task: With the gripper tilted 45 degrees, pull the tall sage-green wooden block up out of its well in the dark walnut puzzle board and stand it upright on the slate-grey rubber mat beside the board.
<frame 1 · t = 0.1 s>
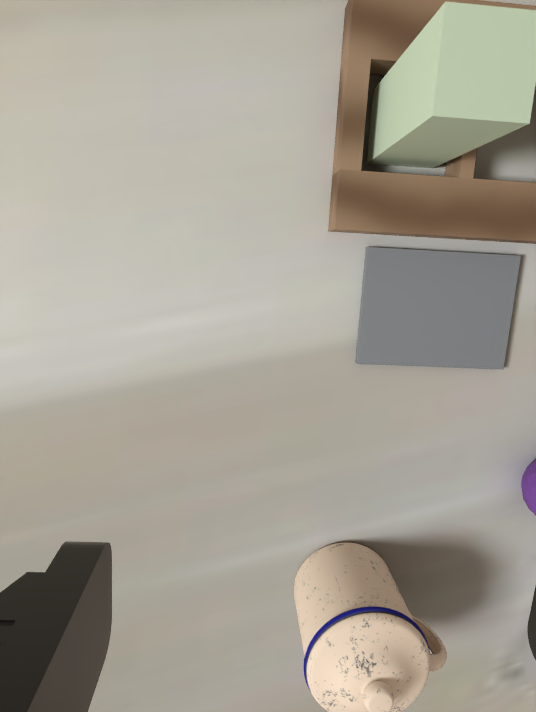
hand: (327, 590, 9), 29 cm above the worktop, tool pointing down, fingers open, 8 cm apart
puzzle board: (456, 133, 35), on the worktop
sage block: (403, 129, 35), resting in puzzle board
lidded ceramic jar: (356, 586, 42), on the worktop
slate mat: (435, 309, 38), on the worktop
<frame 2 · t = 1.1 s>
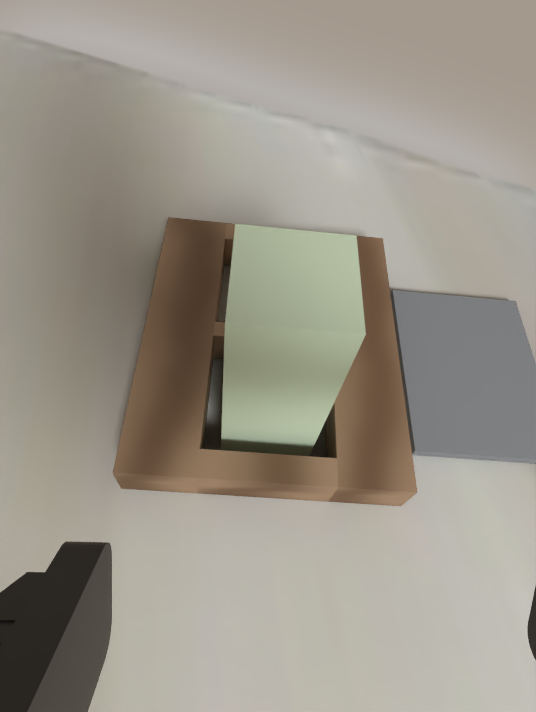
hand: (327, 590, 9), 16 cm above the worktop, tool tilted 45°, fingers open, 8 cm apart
puzzle board: (269, 356, 30), on the worktop
sage block: (266, 413, 28), resting in puzzle board
slate mat: (467, 372, 31), on the worktop
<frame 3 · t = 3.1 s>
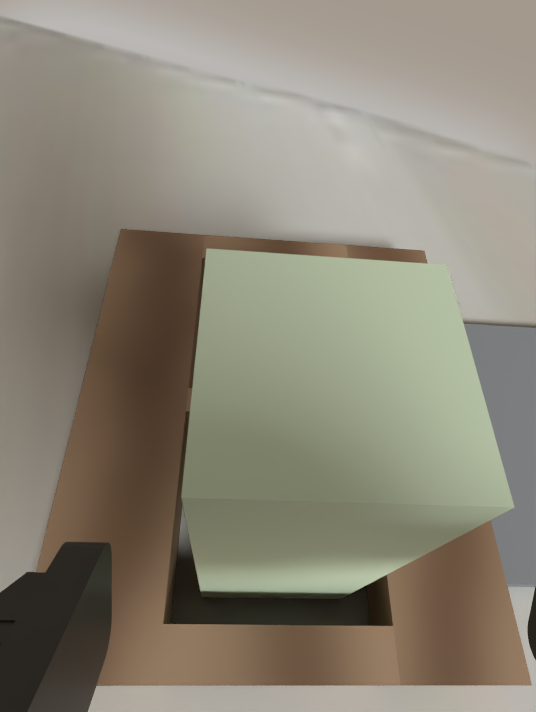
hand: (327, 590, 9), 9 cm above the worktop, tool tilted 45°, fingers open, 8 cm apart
puzzle board: (271, 430, 21), on the worktop
sage block: (271, 525, 18), resting in puzzle board
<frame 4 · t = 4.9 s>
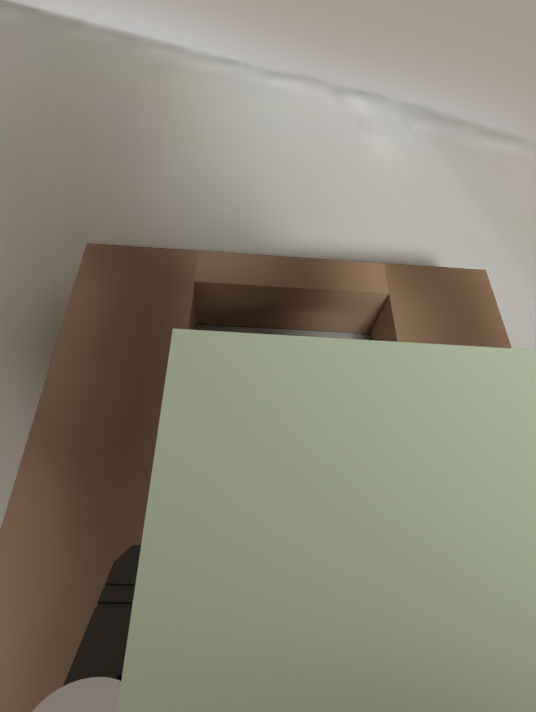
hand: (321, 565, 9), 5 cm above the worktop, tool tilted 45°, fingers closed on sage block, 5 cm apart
puzzle board: (288, 521, 15), on the worktop
sage block: (290, 673, 13), resting in puzzle board, touching gripper
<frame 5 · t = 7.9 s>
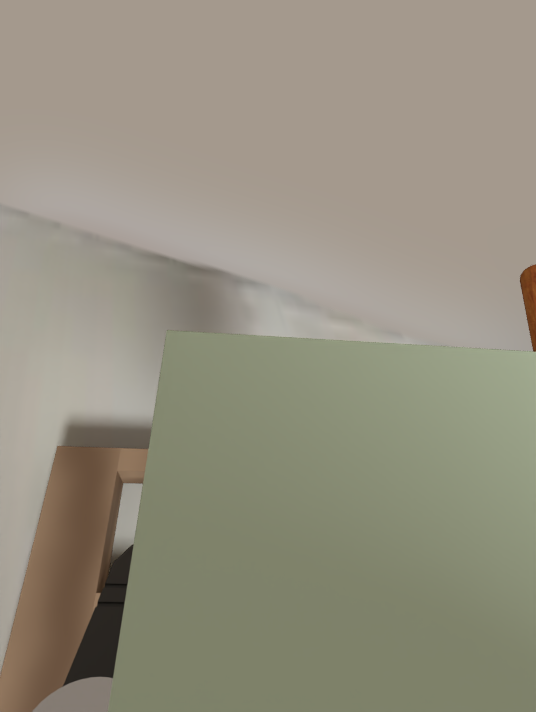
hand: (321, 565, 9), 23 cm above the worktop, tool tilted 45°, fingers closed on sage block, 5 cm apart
puzzle board: (162, 607, 28), on the worktop
sage block: (289, 674, 13), point 17 cm above the worktop, touching gripper
purple maraca: (524, 369, 42), on the worktop
when the fingers open (7 cm above the worktop, at t = 11.0 s): sage block drops 1 cm, resting on slate mat.
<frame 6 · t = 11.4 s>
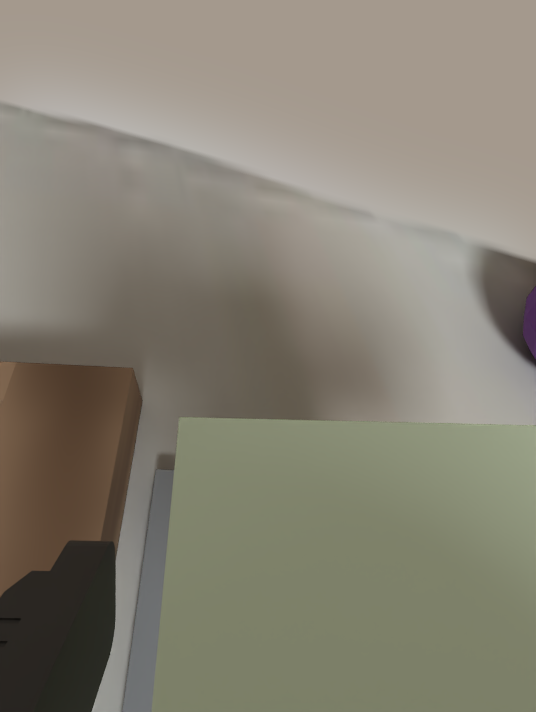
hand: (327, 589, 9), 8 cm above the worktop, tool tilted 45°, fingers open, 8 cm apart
sage block: (286, 676, 14), point 1 cm above the worktop, touching slate mat
slate mat: (282, 673, 14), on the worktop
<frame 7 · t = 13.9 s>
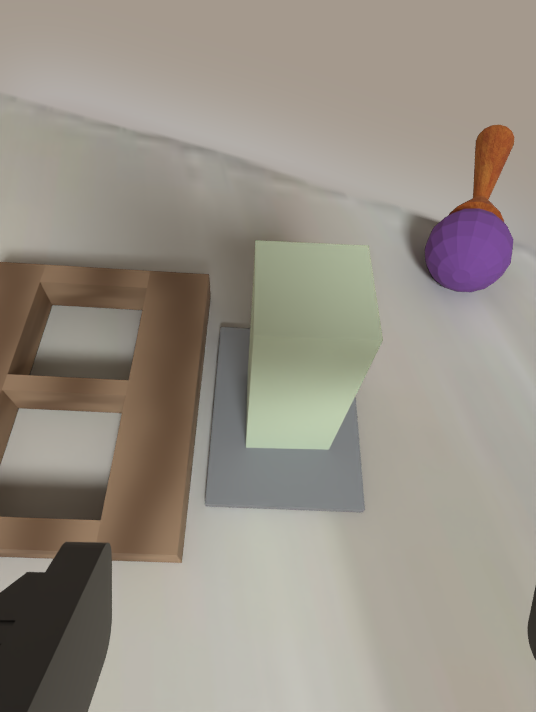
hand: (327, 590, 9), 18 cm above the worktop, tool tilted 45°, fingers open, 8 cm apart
puzzle board: (78, 403, 30), on the worktop
sage block: (286, 410, 30), point 1 cm above the worktop, touching slate mat
purple maraca: (467, 223, 41), on the worktop
slate mat: (284, 413, 30), on the worktop
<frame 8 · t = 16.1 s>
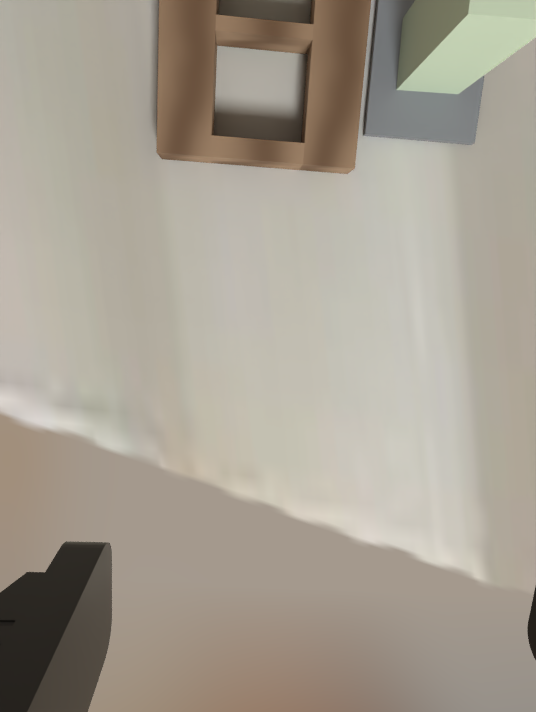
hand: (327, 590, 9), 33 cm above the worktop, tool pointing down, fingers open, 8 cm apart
puzzle board: (263, 42, 37), on the worktop
sage block: (431, 56, 37), point 1 cm above the worktop, touching slate mat
slate mat: (427, 58, 37), on the worktop
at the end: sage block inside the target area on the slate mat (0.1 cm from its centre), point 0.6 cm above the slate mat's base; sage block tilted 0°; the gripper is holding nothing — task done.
